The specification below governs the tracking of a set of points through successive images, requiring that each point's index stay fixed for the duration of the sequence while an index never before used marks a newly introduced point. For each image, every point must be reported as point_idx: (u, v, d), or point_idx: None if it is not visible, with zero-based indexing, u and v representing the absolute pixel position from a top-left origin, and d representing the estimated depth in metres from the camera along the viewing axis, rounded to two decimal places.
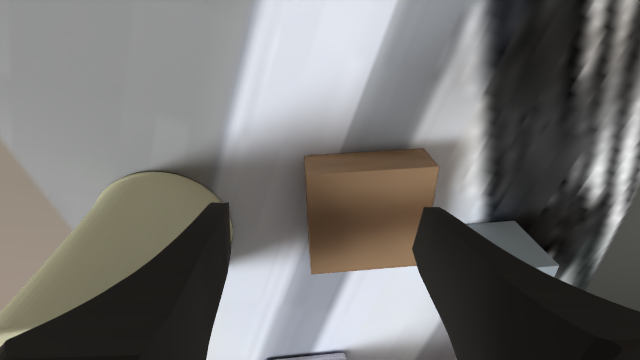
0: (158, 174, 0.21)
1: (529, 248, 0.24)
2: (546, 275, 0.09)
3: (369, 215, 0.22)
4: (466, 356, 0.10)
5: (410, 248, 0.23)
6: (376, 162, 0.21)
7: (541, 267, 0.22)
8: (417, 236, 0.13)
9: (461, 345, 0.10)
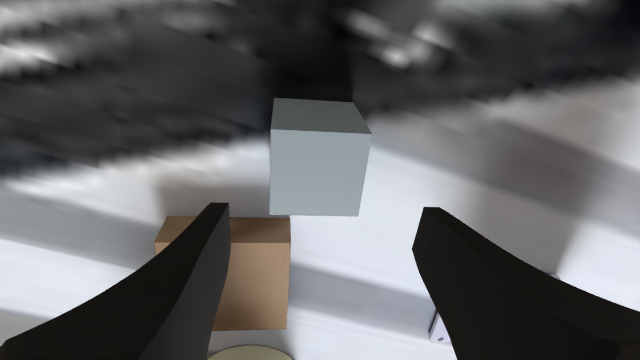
0: None
1: None
2: (546, 275, 0.09)
3: None
4: (466, 356, 0.10)
5: (263, 256, 0.21)
6: None
7: (271, 153, 0.15)
8: (417, 236, 0.13)
9: (461, 345, 0.10)
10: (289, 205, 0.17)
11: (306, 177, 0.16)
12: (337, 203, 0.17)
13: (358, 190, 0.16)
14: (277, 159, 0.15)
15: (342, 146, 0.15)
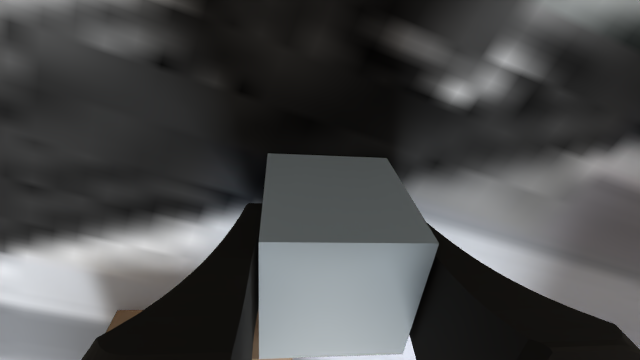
0: None
1: None
2: (500, 275, 0.08)
3: None
4: (424, 358, 0.10)
5: None
6: None
7: (261, 277, 0.09)
8: None
9: (420, 346, 0.10)
10: (292, 346, 0.10)
11: (322, 309, 0.09)
12: (371, 339, 0.10)
13: (406, 321, 0.10)
14: (271, 286, 0.09)
15: (385, 262, 0.09)
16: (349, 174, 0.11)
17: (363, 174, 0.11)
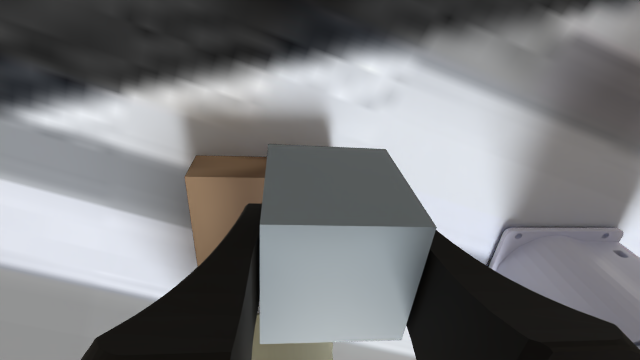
0: None
1: None
2: (500, 275, 0.08)
3: None
4: (424, 358, 0.10)
5: None
6: None
7: (262, 260, 0.09)
8: None
9: (420, 346, 0.10)
10: (292, 331, 0.10)
11: (322, 293, 0.09)
12: (370, 325, 0.10)
13: (405, 307, 0.10)
14: (272, 269, 0.09)
15: (383, 246, 0.09)
16: (348, 164, 0.12)
17: (362, 164, 0.12)
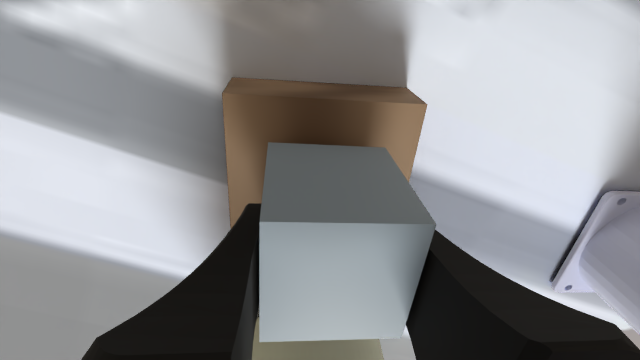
0: None
1: None
2: (500, 275, 0.08)
3: None
4: (424, 358, 0.10)
5: (381, 128, 0.14)
6: None
7: (262, 258, 0.09)
8: None
9: (420, 346, 0.10)
10: (292, 328, 0.10)
11: (321, 291, 0.09)
12: (370, 323, 0.10)
13: (405, 304, 0.10)
14: (271, 266, 0.09)
15: (383, 243, 0.09)
16: (348, 162, 0.12)
17: (362, 162, 0.12)
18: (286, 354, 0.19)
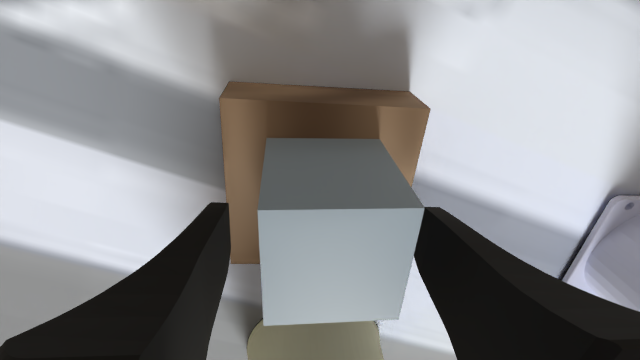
0: (247, 344, 0.22)
1: None
2: (546, 275, 0.09)
3: None
4: (466, 356, 0.10)
5: (383, 132, 0.13)
6: None
7: (261, 244, 0.09)
8: None
9: (461, 345, 0.10)
10: (293, 312, 0.11)
11: (319, 275, 0.10)
12: (367, 305, 0.11)
13: (400, 286, 0.11)
14: (271, 252, 0.09)
15: (375, 228, 0.09)
16: (343, 153, 0.12)
17: (356, 153, 0.12)
18: None
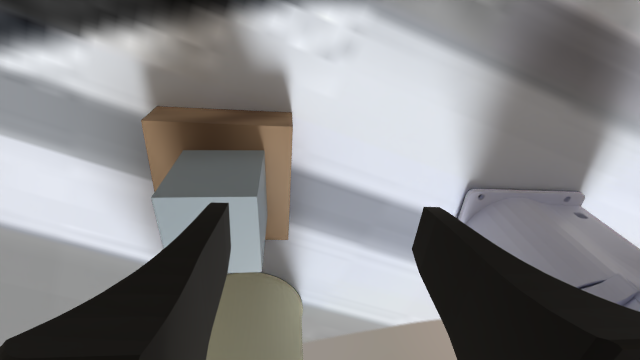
0: None
1: None
2: (546, 275, 0.09)
3: None
4: (466, 356, 0.10)
5: (262, 143, 0.19)
6: None
7: (158, 219, 0.15)
8: (417, 236, 0.13)
9: (461, 345, 0.10)
10: None
11: None
12: (237, 261, 0.17)
13: (256, 248, 0.16)
14: (165, 224, 0.15)
15: None
16: (230, 161, 0.18)
17: (239, 161, 0.18)
18: None
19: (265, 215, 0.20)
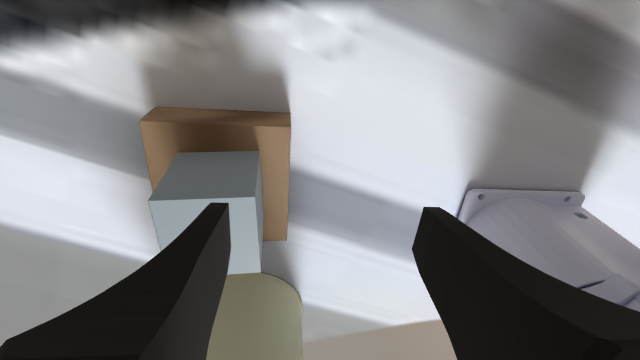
0: None
1: None
2: (546, 275, 0.09)
3: None
4: (466, 356, 0.10)
5: (260, 144, 0.19)
6: None
7: (155, 222, 0.15)
8: (417, 236, 0.13)
9: (461, 345, 0.10)
10: None
11: None
12: (236, 262, 0.17)
13: (254, 249, 0.16)
14: (162, 227, 0.15)
15: None
16: (226, 162, 0.18)
17: (235, 162, 0.18)
18: None
19: (262, 216, 0.20)
